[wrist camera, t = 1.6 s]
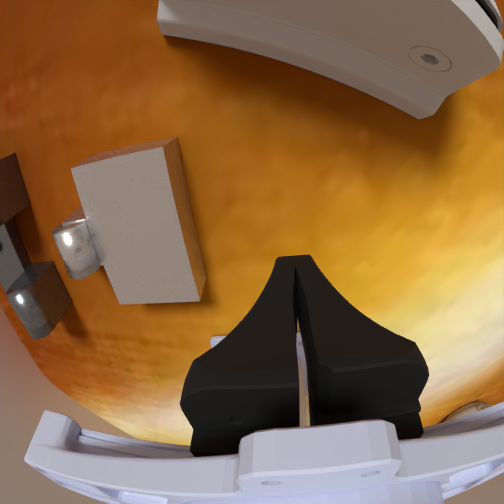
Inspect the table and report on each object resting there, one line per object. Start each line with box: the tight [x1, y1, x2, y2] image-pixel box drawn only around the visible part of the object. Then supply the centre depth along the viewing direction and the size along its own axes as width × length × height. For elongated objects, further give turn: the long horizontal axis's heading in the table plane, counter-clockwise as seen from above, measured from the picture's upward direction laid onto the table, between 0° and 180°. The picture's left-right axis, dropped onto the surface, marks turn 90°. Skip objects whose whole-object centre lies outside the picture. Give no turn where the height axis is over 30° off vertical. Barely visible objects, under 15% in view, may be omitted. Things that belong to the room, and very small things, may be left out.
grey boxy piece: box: [52, 137, 207, 304], centre depth 18 cm, size 10×9×5 cm
